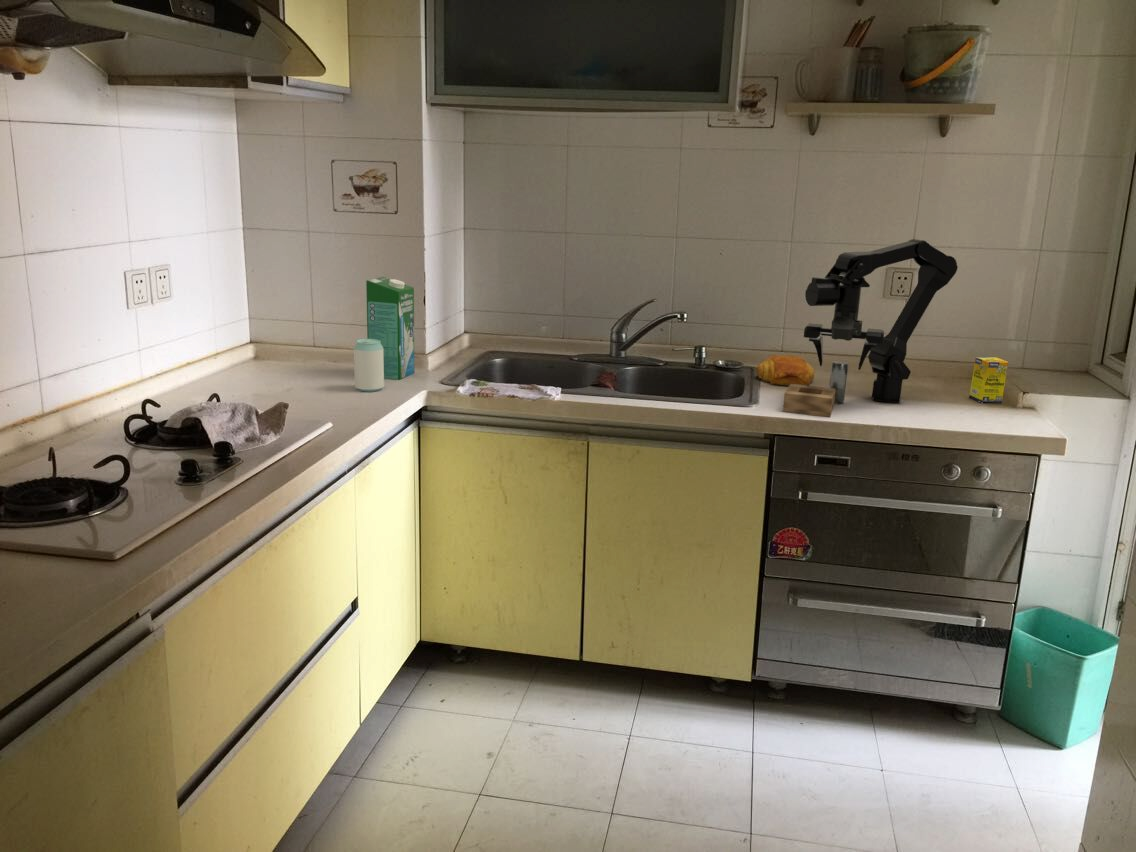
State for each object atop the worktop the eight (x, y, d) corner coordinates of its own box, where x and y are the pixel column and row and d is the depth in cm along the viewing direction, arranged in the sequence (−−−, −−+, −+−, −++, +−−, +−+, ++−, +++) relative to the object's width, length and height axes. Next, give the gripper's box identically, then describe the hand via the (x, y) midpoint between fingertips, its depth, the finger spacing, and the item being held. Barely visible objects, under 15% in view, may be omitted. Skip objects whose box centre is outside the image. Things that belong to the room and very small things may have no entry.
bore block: (833, 406, 236) (835, 388, 235) (829, 417, 226) (832, 398, 225) (788, 401, 239) (790, 383, 238) (782, 411, 229) (784, 393, 228)
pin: (844, 401, 241) (849, 362, 239) (843, 404, 238) (847, 365, 235) (828, 399, 243) (832, 360, 240) (826, 402, 239) (831, 363, 236)
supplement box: (981, 403, 245) (988, 361, 242) (968, 397, 250) (974, 356, 247) (1002, 403, 246) (1009, 361, 243) (989, 397, 251) (995, 356, 248)
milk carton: (399, 380, 246) (398, 282, 239) (367, 376, 248) (365, 279, 241) (414, 372, 254) (414, 278, 247) (383, 369, 256) (382, 276, 249)
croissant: (756, 381, 270) (755, 353, 268) (813, 377, 267) (812, 349, 265) (758, 391, 256) (756, 362, 254) (818, 388, 253) (817, 358, 251)
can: (379, 393, 232) (379, 344, 229) (351, 391, 232) (350, 342, 229) (387, 386, 239) (386, 338, 235) (359, 384, 239) (358, 337, 236)
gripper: (804, 306, 229) (797, 370, 234) (885, 313, 223) (877, 378, 228) (809, 300, 239) (803, 361, 244) (887, 306, 233) (879, 369, 238)
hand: (840, 367), depth 238 cm, fingers open, 9 cm apart
